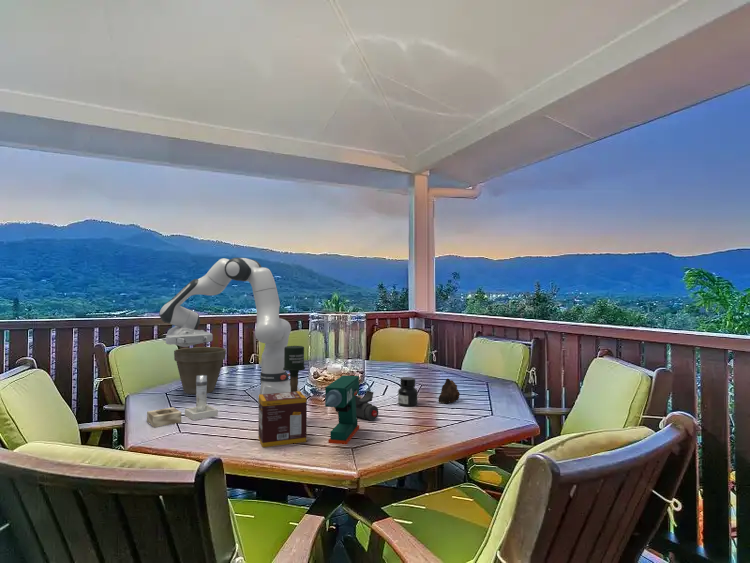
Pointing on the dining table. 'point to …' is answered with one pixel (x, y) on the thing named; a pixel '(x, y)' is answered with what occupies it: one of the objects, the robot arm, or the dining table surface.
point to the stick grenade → (294, 363)
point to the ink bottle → (407, 392)
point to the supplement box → (282, 418)
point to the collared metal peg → (201, 393)
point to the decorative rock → (449, 392)
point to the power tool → (343, 407)
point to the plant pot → (199, 366)
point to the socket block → (163, 417)
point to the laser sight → (365, 407)
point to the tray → (201, 413)
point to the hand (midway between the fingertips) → (195, 340)
